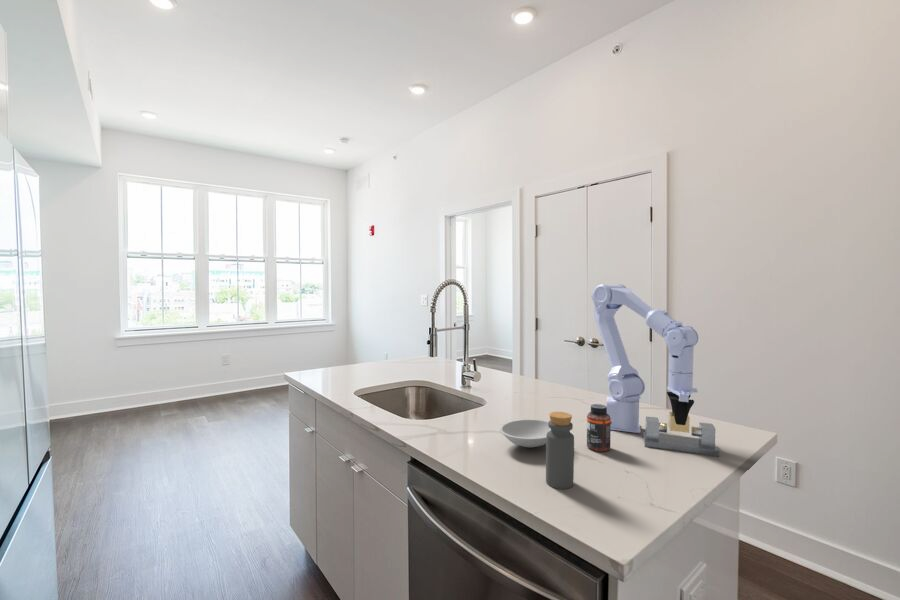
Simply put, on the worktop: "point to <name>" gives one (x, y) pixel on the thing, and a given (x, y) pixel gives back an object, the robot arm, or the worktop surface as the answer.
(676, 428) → the block
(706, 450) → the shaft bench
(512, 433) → the dish
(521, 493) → the worktop surface
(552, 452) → the bottle
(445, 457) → the worktop surface
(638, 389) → the robot arm
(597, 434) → the supplement bottle
